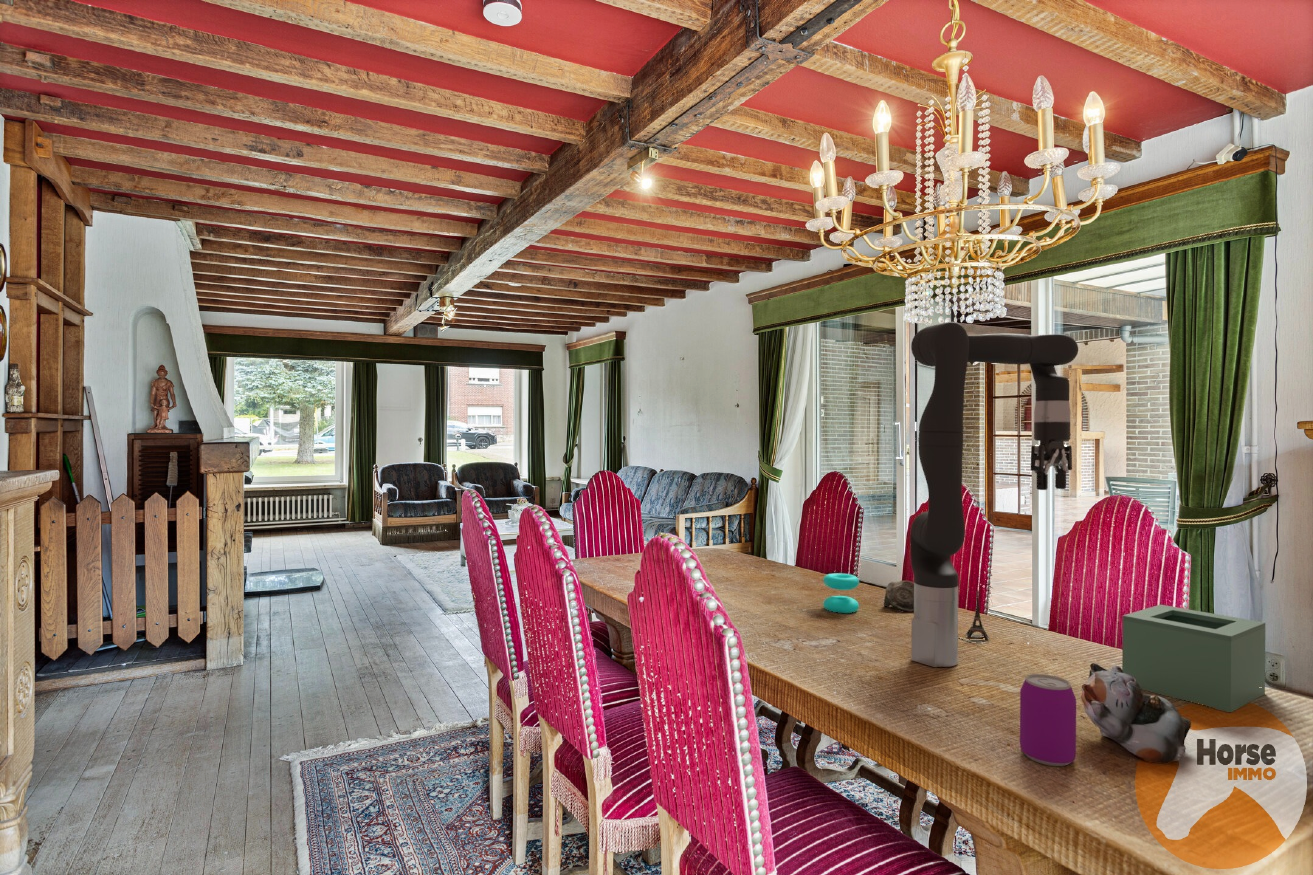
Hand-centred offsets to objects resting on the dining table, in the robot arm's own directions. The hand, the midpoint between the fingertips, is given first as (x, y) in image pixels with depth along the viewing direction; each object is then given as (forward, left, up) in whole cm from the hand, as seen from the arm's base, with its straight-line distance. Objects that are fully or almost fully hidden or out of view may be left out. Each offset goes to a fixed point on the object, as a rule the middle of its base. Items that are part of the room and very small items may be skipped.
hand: (1051, 489), depth 168 cm
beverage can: (-58, -29, -38) cm, 75 cm away
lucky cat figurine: (-42, -35, -38) cm, 67 cm away
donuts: (-11, +54, -38) cm, 67 cm away
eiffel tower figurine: (-4, +16, -39) cm, 42 cm away
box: (-2, -29, -38) cm, 48 cm away
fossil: (+5, +45, -38) cm, 60 cm away
